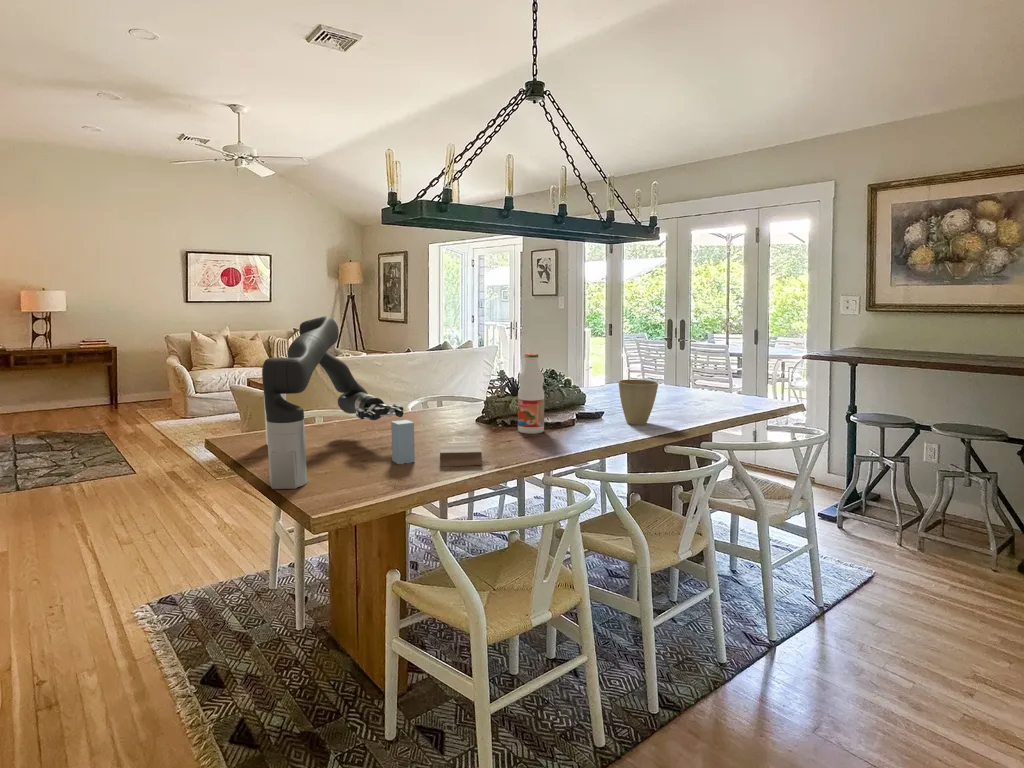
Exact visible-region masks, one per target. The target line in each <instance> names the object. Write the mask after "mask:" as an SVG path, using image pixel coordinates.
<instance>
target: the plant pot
mask: <svg viewBox="0 0 1024 768" xmlns="http://www.w3.org/2000/svg"><path fill="white" fill-rule="evenodd" d="M658 387H659V382H658V381H654V380H650V379H649V380H647V379H620V380H618V389H619V390H618V391H619V398H620V404H621V407H622V412H623V414H624V415H623V416H624V418H625V421H626V424H628V425H634V426H643V425H644V426H645V425H647V423H648V420H649V418H650V416H651V413H652V411H653V407H654V405H655V401H656V397H657V391H658Z"/></svg>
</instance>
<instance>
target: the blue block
mask: <svg viewBox="0 0 1024 768" xmlns="http://www.w3.org/2000/svg"><path fill="white" fill-rule="evenodd" d="M390 422H391V423H390V424H391V425H390V426H391V458H392V459H391V460H392V462H393V461H394V462H393V463H395V462H396V463H395V464H397V465H398V464H401V465H405V464H404V463H407V464H412V463H411V462H414V463H416V462H415V461H416V459H415V456H416V454H415V453H416V452H415V422H414V421H411V420H409V419H402V420H392V421H390Z"/></svg>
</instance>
